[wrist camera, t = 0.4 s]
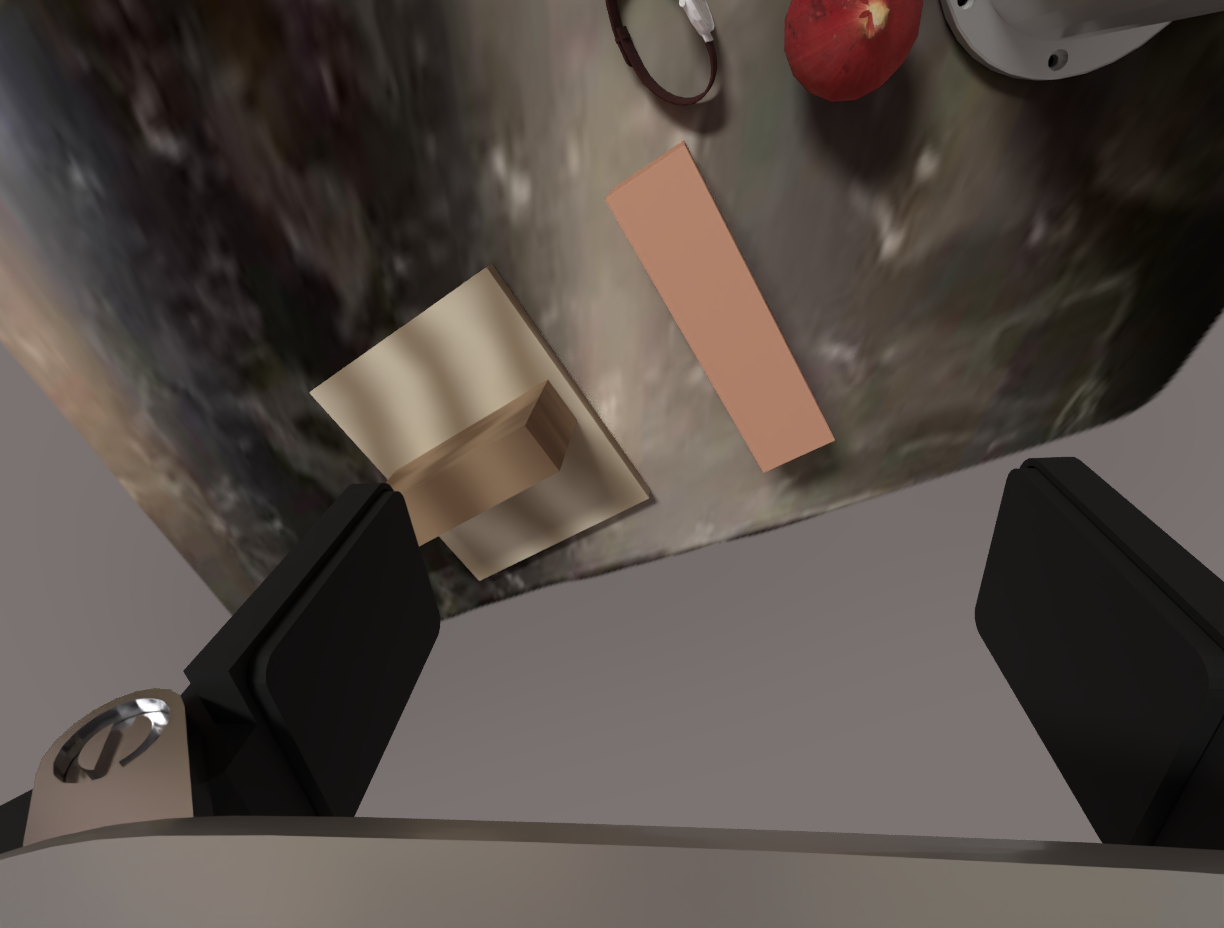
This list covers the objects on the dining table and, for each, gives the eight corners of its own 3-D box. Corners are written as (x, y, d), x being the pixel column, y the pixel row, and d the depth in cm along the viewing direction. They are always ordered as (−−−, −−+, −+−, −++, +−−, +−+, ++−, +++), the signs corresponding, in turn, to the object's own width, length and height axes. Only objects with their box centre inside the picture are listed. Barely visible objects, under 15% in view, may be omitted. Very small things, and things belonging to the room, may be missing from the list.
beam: (683, 140, 34) (684, 144, 29) (815, 399, 41) (835, 440, 36) (615, 186, 36) (604, 198, 31) (753, 429, 43) (763, 472, 37)
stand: (491, 263, 38) (448, 296, 31) (649, 489, 45) (644, 558, 38) (318, 386, 44) (248, 438, 37) (483, 571, 51) (451, 645, 44)
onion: (750, 41, 32) (770, 20, 25) (842, -70, 29) (892, -127, 22) (824, 127, 33) (862, 130, 26) (917, 29, 31) (986, 3, 24)
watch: (738, 72, 33) (745, 67, 29) (662, 127, 34) (660, 128, 31) (663, -86, 30) (661, -110, 27) (583, -17, 31) (573, -32, 28)
